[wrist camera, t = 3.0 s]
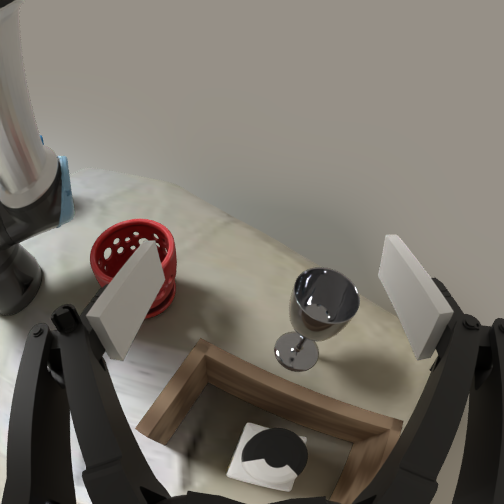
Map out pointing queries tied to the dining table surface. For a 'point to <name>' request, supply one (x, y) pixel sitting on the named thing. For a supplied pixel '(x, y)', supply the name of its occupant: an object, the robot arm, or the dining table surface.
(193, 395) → the walnut bay
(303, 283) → the wine glass
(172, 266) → the plant pot
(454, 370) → the robot arm
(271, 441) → the medicine bottle
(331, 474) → the dining table surface
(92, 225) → the dining table surface
